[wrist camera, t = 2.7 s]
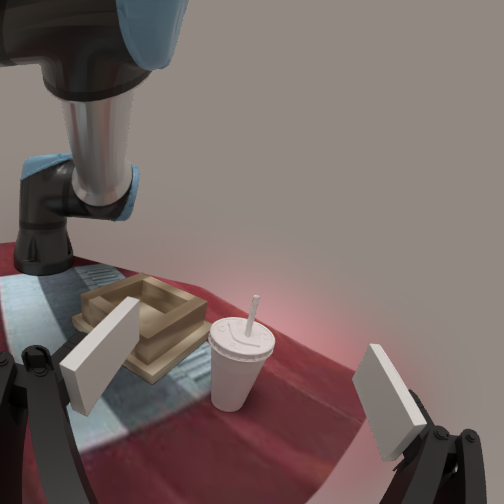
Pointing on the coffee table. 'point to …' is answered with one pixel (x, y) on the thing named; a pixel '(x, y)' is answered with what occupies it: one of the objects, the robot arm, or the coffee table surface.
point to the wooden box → (150, 322)
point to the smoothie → (237, 358)
